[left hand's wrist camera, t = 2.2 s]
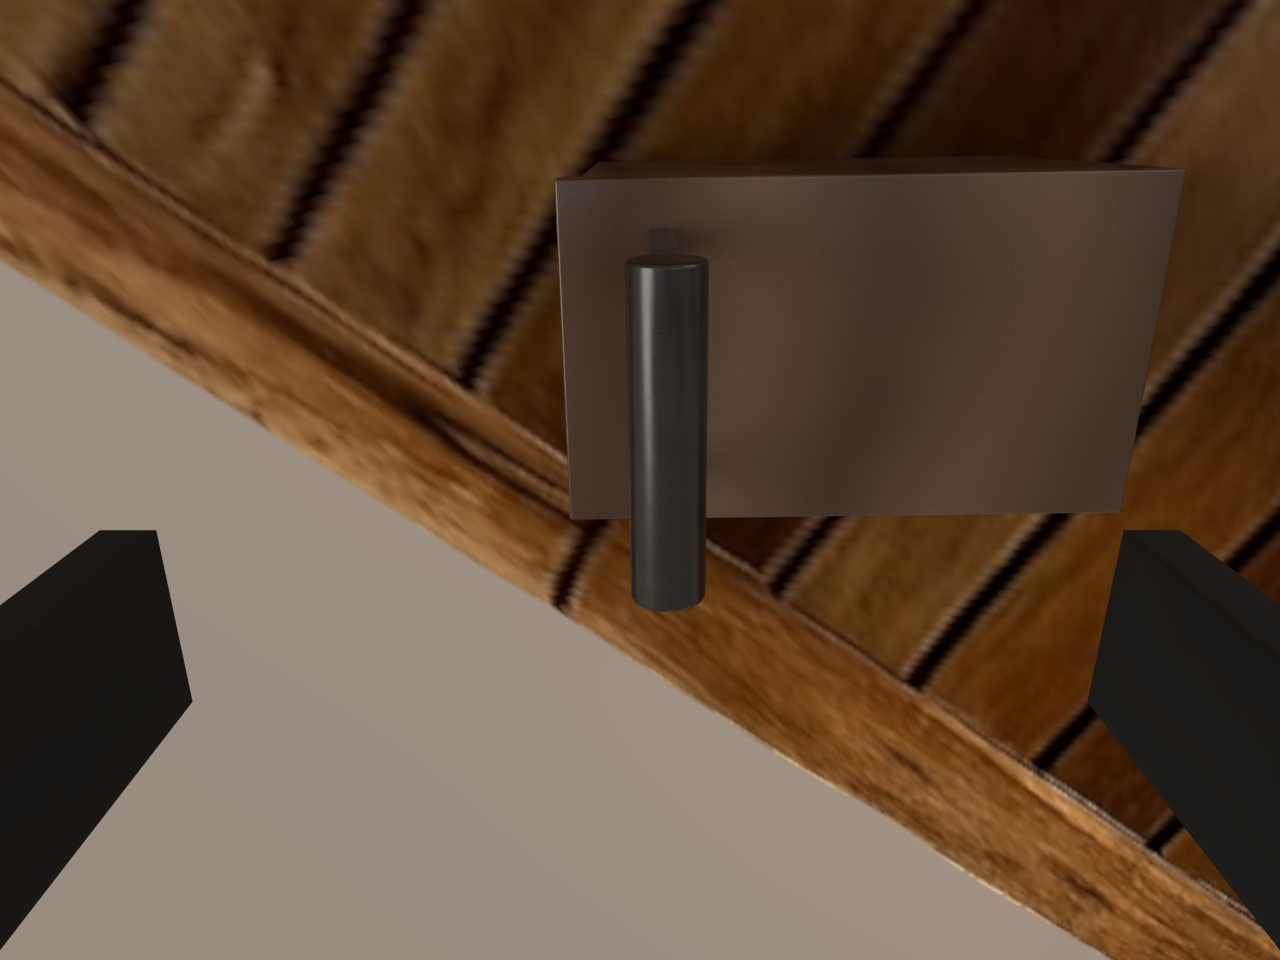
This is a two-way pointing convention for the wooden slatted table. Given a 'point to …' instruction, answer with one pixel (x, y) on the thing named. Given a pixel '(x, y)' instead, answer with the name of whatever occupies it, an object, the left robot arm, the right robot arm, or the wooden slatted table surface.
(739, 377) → the lid
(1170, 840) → the wooden slatted table surface
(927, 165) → the chest
